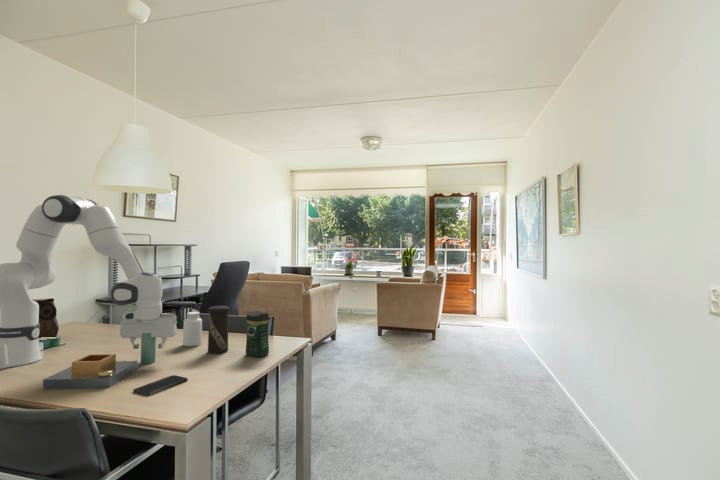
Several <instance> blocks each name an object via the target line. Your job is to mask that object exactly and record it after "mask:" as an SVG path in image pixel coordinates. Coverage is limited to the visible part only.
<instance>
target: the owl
mask: <svg viewBox="0 0 720 480" xmlns="http://www.w3.org/2000/svg"><path fill="white" fill-rule="evenodd" d="M31 299H32V300H33V301H35V302H37V303H38V305H39V324H40V334H39V338H41V337H57V336H58V333H59V329H60V326H59V322H58V319H57V307H56V303H55V302H54V301H55V298H52V297H51V298H35V299H33V298H31ZM57 338H58V337H57Z"/></svg>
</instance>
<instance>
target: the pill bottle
mask: <svg viewBox="0 0 720 480" xmlns="http://www.w3.org/2000/svg"><path fill="white" fill-rule="evenodd" d="M182 328H183V330H182V333H183V334H182V345H183V346H184V347H197V346H199V345H201V344H202V334H203V319H202V318H201V317H200V312H198V311H190V312H187V313H186V319H184V321H183V327H182Z"/></svg>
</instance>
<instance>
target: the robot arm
mask: <svg viewBox="0 0 720 480" xmlns="http://www.w3.org/2000/svg"><path fill="white" fill-rule="evenodd" d="M65 225H73V226H75V225H81V226H83V228H84V229H85V232H86V234H87V238H88V241H89V243H90V244H91V246H92V248H93V250H94V251H96V252H97V253H99V254H101V255H103V256H107V257H108V258H111V259H113V260H114V261H116V262H117V263H119V265H120V266H121V268H122V270H123V273H124V275H125V276H126V278H127V279H126V280H123V281H120V282H117V283H115V284H114V285H113V286H112V287H111V290H110V296H109V297H110V299H111V301H112V302H113V303H114V304H115V305H117V306H123V307H125V306H129V305H136V309H134V310H131V311H128V312H126V313H123V314H122V321H121V322H120V328H119V336H120V337H121V338H122V339H129V341H130V342H131V344H132V349H133V350H138V349H139V348H140V343H138V342H137V341H136V340H137V338H140V339H141V338H142V333H151V337H156V338H161V342H160V343H158V344H157V345H158V349H164V347H165V343H166V342H167V339H168V338H172V337H174V336H176V334H178V333H177V332H178V327H177V321H178V320H177V319H178V316H177V315H176V314H174V313H171V312H170V313H169V312H168V313H167V312H164V313H163V302H162V297H163V279H162V277H161V275H160V274H158V273H155V272H147V271H146V272H145V271H144V270H143V268H142V267H141V264H140V263H139V260H138V258H137V256H136V255H135V253H134V251H133V249H132V248H131V246H130V245H129V244H128V242H127V240H126V238H125V237H124V235H123V232H122V229H121V227H120V225H119V222H118V220H117V219H116V216H115V214H113V212H112V210H111V209H110V208H109V207H108V206H106V205H100V204H98V203H97V202H95V201H94V200H92V199H91V200H90V199H86V198H82V197H80V196H79V197H78V196H68V195H63V194H57V195H55V194H54V195H51V196H49V197H47V198H46V199H44V201H43V202H42V204H39V205H36V207H34V209H33V210H32V211H31V213H30V214H29V216H28V218H27V219H26V220H25V223H24V225H23V227H22V230H21V232H20V233H19V236H18V238H17V241H16V244H15V246H16V249H17V250H18V251H19V252H20V253H21V258H20V261H19V262H5V263H0V370H2V369H6V368H12V367H17V366H18V367H19V366H24V365H29V364H32V363H36V362H38V361H41V360H43V354H42V351H41V346H40V341H39V334H40V324H39V305H38V303H37V302H35V301H33V300H32V299H33V298H32V297H31V295H30V291H29V290H34V289H41V288H43V287H46V286H48V285H50V284H51V283H53V282H54V281H55V279H56V277H57V276H56V275H57V272H56V269H55V268H54V266H53V265H52V256H53V255H52V254H53V251H54V248H55V246H56V243H57V241H58V239H59V236H60V235H61V232H62V230H63V228H64V226H65Z"/></svg>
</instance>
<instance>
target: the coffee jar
mask: <svg viewBox="0 0 720 480" xmlns="http://www.w3.org/2000/svg"><path fill="white" fill-rule="evenodd" d="M245 322H246V341H245V342H246V343H245V355H246V356H249V357H253V358H254V357H255V358H259V357H266V356H267V355H268V354H269V353H270V347H269V346H270V344H269V343H270V342H269V324H270V313H268V312H265V311H260V310H252V311H249V312H248V313H247V314H246V319H245Z"/></svg>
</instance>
